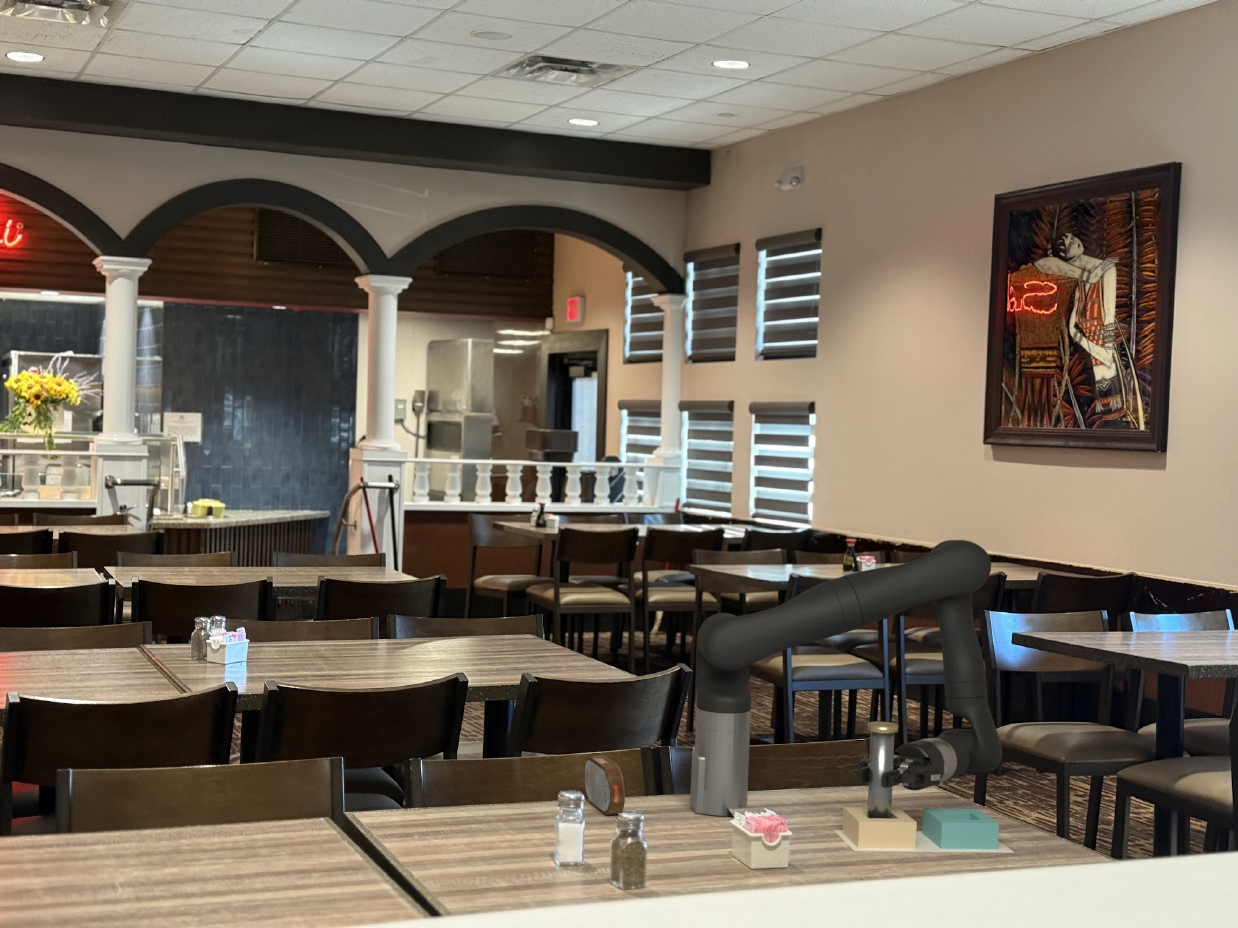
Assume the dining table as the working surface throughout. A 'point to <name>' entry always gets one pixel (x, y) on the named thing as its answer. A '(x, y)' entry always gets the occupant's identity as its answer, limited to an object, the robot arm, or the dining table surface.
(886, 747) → the pin
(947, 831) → the dock
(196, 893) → the dining table surface
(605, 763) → the tin
